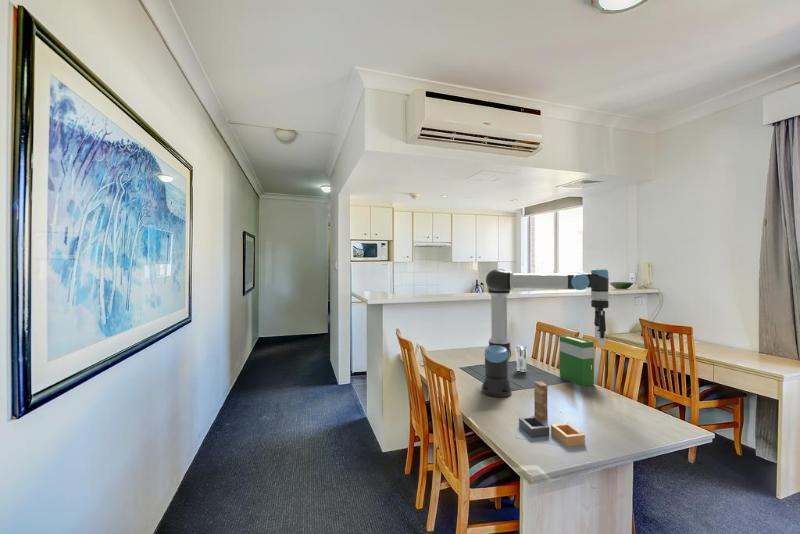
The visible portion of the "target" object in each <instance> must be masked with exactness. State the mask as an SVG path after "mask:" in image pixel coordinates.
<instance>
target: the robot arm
mask: <svg viewBox="0 0 800 534" xmlns="http://www.w3.org/2000/svg"><path fill="white" fill-rule="evenodd" d="M609 281H610V277H609V271H608V269H607V268H606V269H605V268H602V269H601V268H593V269H591V270H590V272H567V273H514V272H512V271H507V270H505V269H503V268H496V269H493V270H491V271H489V272H488V273H487V274H486V278H485V282H486V286H487V288H488V291H487V292H488V294H489V295H490V300H491V301H490V306H491V307H490V309H491V312H490V315H491V316H490V317H491V321H490V322H491V330H490V331H491V338H490V339H489V340H488V346H486V347H485V349H484V353H483V354H484V379H483V381H482V385H481V393H482V394H484V395H486V396H488V395H489V396H488V397H493V398H506V397H510V396H511V395H512V386H511V384H510V381H509V376H508V375H509V374H508V373H509V372H508V371H509V370H508V369H509V366H508V365H509V362H510V359H511V357H512V350H511V341H510V340H509V339H508V296H509V295H510V293H511V291H513V289H542V290H543V289H544V290H546V289H548V290H552V289H553V290H578V291H583V290H586V289H587V288H590V299H591V301H590V303H591V304H590V306H591V308H594V322H593V324H594V339H595V340H596V339H597V340H598V345H601V346H606V331H607V328H606V324H607V323H606V311H605V310H604V309H608V308H609V305H610V304H609V296H610V295H611V293H610V292H609V289H610V288H609V286H610V285H609Z"/></svg>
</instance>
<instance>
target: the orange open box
mask: <svg viewBox="0 0 800 534" xmlns="http://www.w3.org/2000/svg"><path fill="white" fill-rule="evenodd" d="M550 427H551V434H552V435H554V436H555V437H556V438H557V439H558V440H560V441H561V442H562V443H563V444H564V445H566V446H576V445H584V444H585V442H586V435H585V434H583V433H584V432H583V433H581V432H582V431H580V430H578V429H577V428H576V427H574V426H573V425H572V424H570V423H569V422H567V423H566V422H564V423H563V422H562V423H556V424H555V423H553V424H550ZM567 434H569V435H567Z"/></svg>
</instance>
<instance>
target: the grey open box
mask: <svg viewBox="0 0 800 534" xmlns="http://www.w3.org/2000/svg"><path fill="white" fill-rule="evenodd" d="M518 424H519V427H521V428H522V429H523V430H524V431H525V432H526V433H527V434H528V435H529V436H530V437H531V438H536V437H545V436H549V427H550V426H548V425H547V424H546V423H545V422H543V420H542V421H541V420H540V419H539V418H537V417H536V416H535V415H533V416H522V417H519V418H518ZM532 426H535V427H532Z"/></svg>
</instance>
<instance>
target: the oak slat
mask: <svg viewBox="0 0 800 534" xmlns="http://www.w3.org/2000/svg"><path fill="white" fill-rule="evenodd" d="M533 387H534V392H533V394H534V395H533V396H534V397H533V398H534V402H533V403H534V410H533V411H534V416H536V417H537V418H539V419H540V420H541V421H542V422H543V421H548V420H549V419H548V415H549V414H548V412H549V411H548V409H549V408H548V384H546V383H544V382H543V381H534V383H533Z"/></svg>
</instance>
